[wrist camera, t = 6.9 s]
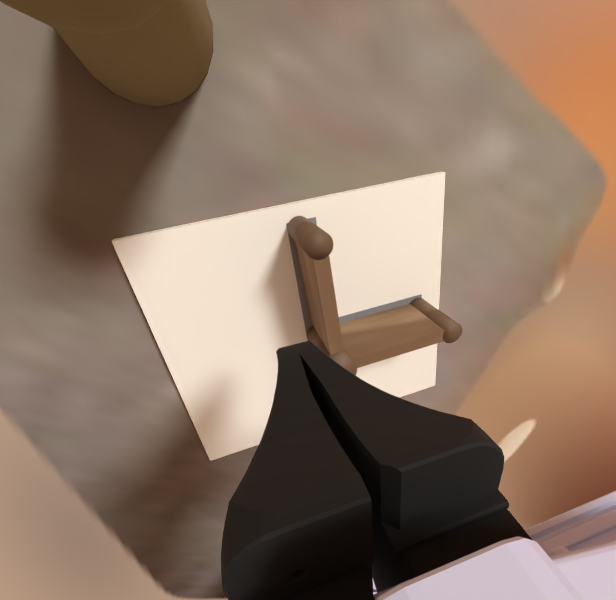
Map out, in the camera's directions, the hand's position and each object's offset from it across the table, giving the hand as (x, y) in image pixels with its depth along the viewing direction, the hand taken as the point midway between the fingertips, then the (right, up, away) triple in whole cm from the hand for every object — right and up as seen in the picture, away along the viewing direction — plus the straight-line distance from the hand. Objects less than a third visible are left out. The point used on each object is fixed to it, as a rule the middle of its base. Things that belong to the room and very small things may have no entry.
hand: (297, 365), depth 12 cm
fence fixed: (+5, +1, +10) cm, 11 cm away
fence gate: (0, +4, +8) cm, 9 cm away
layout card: (+1, +1, +10) cm, 10 cm away
